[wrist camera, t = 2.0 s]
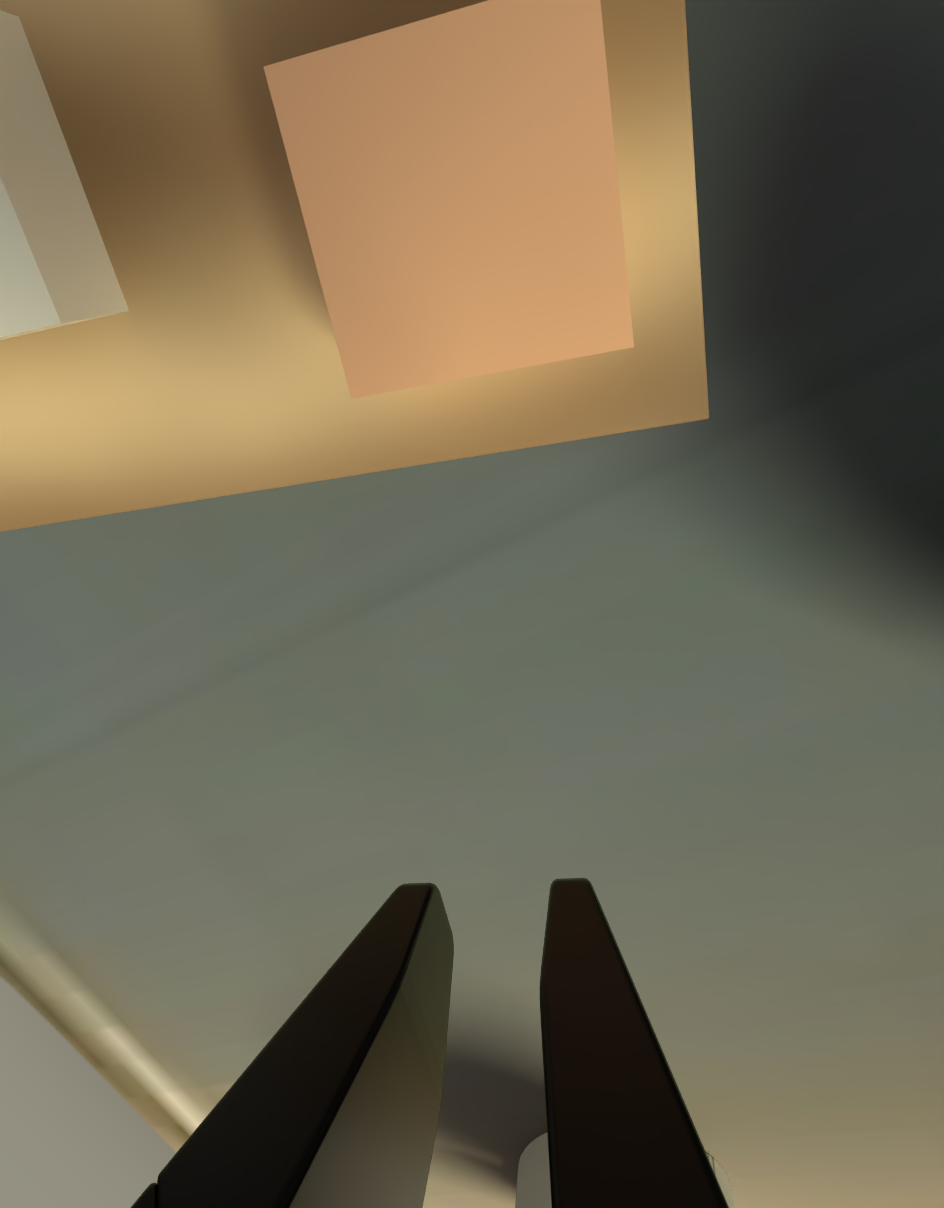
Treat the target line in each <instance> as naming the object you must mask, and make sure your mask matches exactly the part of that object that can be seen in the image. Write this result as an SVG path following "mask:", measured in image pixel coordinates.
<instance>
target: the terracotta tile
mask: <svg viewBox="0 0 944 1208" xmlns="http://www.w3.org/2000/svg"><path fill="white" fill-rule="evenodd" d="M264 71H265V75H266V78H267V82H268V86H269V90H270V94H271V97H272V101H273V105H274V109H275V112H276V116H277V120H278V124H279V128H280V131H281V135H282V139H283V143H284V146H285V150H286V154H287V158H288V162H289V165H290V169H291V173H292V177H293V180H294V184H295V188H296V192H297V196H298V199H299V203H300V207H301V211H302V214H303V218H304V222H305V226H306V230H307V233H308V237H309V241H310V245H311V248H312V252H313V256H314V260H315V264H316V267H317V271H318V275H319V279H320V282H321V286H322V290H323V294H324V298H325V301H326V305H327V309H328V313H329V316H330V320H331V324H332V328H333V332H334V335H335V339H336V343H337V347H338V350H339V354H340V358H341V362H342V366H343V369H344V373H345V377H346V381H347V384H348V388H349V392H350V396H351V399H354V398H360V397H365V396H371V395H376V394H382V393H387V392H393V391H398V390H403V389H409V388H414V387H420V386H425V385H431V384H436V383H442V382H447V381H453V380H458V379H464V378H469V377H474V376H480V375H485V374H491V373H496V372H502V371H507V370H513V369H518V368H524V367H529V366H535V365H540V364H545V363H551V362H556V361H562V360H567V359H573V358H578V357H584V356H589V355H595V354H600V353H606V352H611V351H616V350H622V349H627V348H633V347H634V339H633V329H632V319H631V309H630V298H629V288H628V278H627V268H626V257H625V247H624V237H623V227H622V217H621V206H620V196H619V186H618V176H617V165H616V155H615V145H614V135H613V124H612V114H611V104H610V94H609V84H608V73H607V63H606V53H605V43H604V32H603V22H602V12H601V2H600V0H488V1H484V2H481V3H477V4H474V5H471V6H467V7H464V8H460V9H457V10H454V11H450V12H447V13H444V14H440V15H437V16H433V17H430V18H427V19H423V20H420V21H416V22H413V23H410V24H406V25H403V26H399V27H396V28H393V29H389V30H386V31H383V32H379V33H376V34H372V35H369V36H366V37H362V38H359V39H355V40H352V41H349V42H345V43H342V44H338V45H335V46H332V47H328V48H325V49H322V50H318V51H315V52H311V53H308V54H305V55H301V56H298V57H294V58H291V59H288V60H284V61H281V62H277V63H274V64H271V65H267V66H264Z"/></svg>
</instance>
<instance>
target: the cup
mask: <svg viewBox="0 0 944 1208" xmlns="http://www.w3.org/2000/svg"><path fill="white" fill-rule="evenodd" d="M706 1154H707V1153H706ZM707 1157H708V1159H709V1161H710V1164H711V1166H712V1168H713V1171H714V1173H715V1175H716V1178H717V1180H718V1183H719V1185H720V1187H721V1190H722V1192H723V1194H724V1197H725V1199H726V1201H727V1204H728V1206H729V1208H734V1205H733V1198H732V1192H731V1185H730V1182H729V1179H728V1177H727V1174H726V1173H725V1172H724V1169H723V1168H722V1167H721V1166H720V1165H719V1164H718V1162H717V1161H716V1160H715V1159H714V1158H712V1157H711V1156H710V1155H709V1154H707ZM515 1208H551V1191H550V1173H549V1155H548V1137H547V1133H545V1134H543V1135H540V1136H539V1137H538V1138H536V1139H535V1140H534V1141H532V1142H531V1143H530V1144H529V1145H527V1147H526V1148H525V1150H524V1151H523V1154H521V1157H520V1161H519V1165H518V1178H517V1191H516V1205H515Z"/></svg>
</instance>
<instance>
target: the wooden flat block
mask: <svg viewBox="0 0 944 1208" xmlns="http://www.w3.org/2000/svg"><path fill="white" fill-rule="evenodd" d="M484 1H488V0H0V10H2V11H4V12H7V13H10V14H13V15H15V16H18V17H19V18H20V21H21V24H22V26H23V29H24V32H25V34H26V37H27V40H28V42H29V45H30V48H31V50H32V53H33V56H34V58H35V61H36V64H37V66H38V69H39V72H40V74H41V77H42V80H43V82H44V85H45V88H46V90H47V93H48V96H49V98H50V101H51V104H52V106H53V109H54V112H55V114H56V117H57V120H58V122H59V125H60V128H61V130H62V133H63V136H64V138H65V141H66V144H67V146H68V149H69V152H70V154H71V157H72V160H73V162H74V165H75V168H76V170H77V173H78V176H79V178H80V181H81V184H82V186H83V189H84V192H85V195H86V197H87V200H88V203H89V205H90V208H91V211H92V213H93V216H94V219H95V221H96V224H97V227H98V229H99V232H100V235H101V237H102V240H103V243H104V245H105V248H106V251H107V253H108V256H109V259H110V261H111V264H112V267H113V269H114V272H115V275H116V277H117V280H118V283H119V285H120V288H121V291H122V293H123V296H124V299H125V301H126V304H127V307H128V309H129V311H126V312H122V313H117V314H113V315H109V316H104V317H100V318H95V319H91V320H87V321H82V322H78V323H73V324H69V325H64V326H60V327H56V328H51V329H47V330H42V331H38V332H34V333H29V334H25V335H20V336H16V337H11V338H7V339H3V340H0V531H7V530H13V529H19V528H26V527H32V526H38V525H44V524H51V523H57V522H63V521H70V520H76V519H82V518H88V517H95V516H101V515H107V514H114V513H120V512H126V511H132V510H139V509H145V508H151V507H158V506H164V505H170V504H176V503H183V502H189V501H195V500H201V499H208V498H214V497H220V496H227V495H233V494H239V493H245V492H252V491H258V490H264V489H271V488H277V487H283V486H289V485H296V484H302V483H308V482H315V481H321V480H327V479H333V478H340V477H346V476H352V475H359V474H365V473H371V472H377V471H384V470H390V469H396V468H403V467H409V466H415V465H421V464H428V463H434V462H440V461H447V460H453V459H459V458H465V457H472V456H478V455H484V454H491V453H497V452H503V451H509V450H516V449H522V448H528V447H534V446H541V445H547V444H553V443H560V442H566V441H572V440H578V439H585V438H591V437H597V436H604V435H610V434H616V433H622V432H629V431H635V430H641V429H648V428H654V427H660V426H666V425H673V424H679V423H685V422H692V421H698V420H704V419H709V407H708V389H707V372H706V355H705V338H704V320H703V303H702V286H701V269H700V251H699V234H698V217H697V200H696V182H695V165H694V148H693V130H692V113H691V96H690V79H689V61H688V44H687V27H686V10H685V0H600V2H601V12H602V22H603V32H604V43H605V53H606V63H607V73H608V84H609V94H610V104H611V114H612V124H613V135H614V145H615V155H616V165H617V176H618V186H619V196H620V206H621V217H622V227H623V237H624V247H625V257H626V268H627V278H628V288H629V298H630V309H631V319H632V329H633V339H634V347H633V348H627V349H622V350H616V351H611V352H606V353H600V354H595V355H589V356H584V357H578V358H573V359H567V360H562V361H556V362H551V363H545V364H540V365H535V366H529V367H524V368H518V369H513V370H507V371H502V372H496V373H491V374H485V375H480V376H474V377H469V378H464V379H458V380H453V381H447V382H442V383H436V384H431V385H425V386H420V387H414V388H409V389H403V390H398V391H393V392H387V393H382V394H376V395H371V396H365V397H360V398H354V399H351V396H350V392H349V388H348V384H347V381H346V377H345V373H344V369H343V366H342V362H341V358H340V354H339V350H338V347H337V343H336V339H335V335H334V332H333V328H332V324H331V320H330V316H329V313H328V309H327V305H326V301H325V298H324V294H323V290H322V286H321V282H320V279H319V275H318V271H317V267H316V264H315V260H314V256H313V252H312V248H311V245H310V241H309V237H308V233H307V230H306V226H305V222H304V218H303V214H302V211H301V207H300V203H299V199H298V196H297V192H296V188H295V184H294V180H293V177H292V173H291V169H290V165H289V162H288V158H287V154H286V150H285V146H284V143H283V139H282V135H281V131H280V128H279V124H278V120H277V116H276V112H275V109H274V105H273V101H272V97H271V94H270V90H269V86H268V82H267V78H266V75H265V71H264V66H267V65H271V64H274V63H277V62H281V61H284V60H288V59H291V58H294V57H298V56H301V55H305V54H308V53H311V52H315V51H318V50H322V49H325V48H328V47H332V46H335V45H338V44H342V43H345V42H349V41H352V40H355V39H359V38H362V37H366V36H369V35H372V34H376V33H379V32H383V31H386V30H389V29H393V28H396V27H399V26H403V25H406V24H410V23H413V22H416V21H420V20H423V19H427V18H430V17H433V16H437V15H440V14H444V13H447V12H450V11H454V10H457V9H460V8H464V7H467V6H471V5H474V4H477V3H481V2H484Z"/></svg>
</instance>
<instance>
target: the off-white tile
mask: <svg viewBox="0 0 944 1208" xmlns="http://www.w3.org/2000/svg"><path fill="white" fill-rule="evenodd" d="M126 311H129V309H128V307H127V304H126V301H125V299H124V296H123V293H122V291H121V288H120V285H119V283H118V280H117V277H116V275H115V272H114V269H113V267H112V264H111V261H110V259H109V256H108V253H107V251H106V248H105V245H104V243H103V240H102V237H101V235H100V232H99V229H98V227H97V224H96V221H95V219H94V216H93V213H92V211H91V208H90V205H89V203H88V200H87V197H86V195H85V192H84V189H83V186H82V184H81V181H80V178H79V176H78V173H77V170H76V168H75V165H74V162H73V160H72V157H71V154H70V152H69V149H68V146H67V144H66V141H65V138H64V136H63V133H62V130H61V128H60V125H59V122H58V120H57V117H56V114H55V112H54V109H53V106H52V104H51V101H50V98H49V96H48V93H47V90H46V88H45V85H44V82H43V80H42V77H41V74H40V72H39V69H38V66H37V64H36V61H35V58H34V56H33V53H32V50H31V48H30V45H29V42H28V40H27V37H26V34H25V32H24V29H23V26H22V24H21V21H20V18H19V17H18V16H15V15H13V14H10V13H7V12H4V11H2V10H0V340H3V339H7V338H11V337H16V336H20V335H25V334H29V333H34V332H38V331H42V330H47V329H51V328H56V327H60V326H64V325H69V324H73V323H78V322H82V321H87V320H91V319H95V318H100V317H104V316H109V315H113V314H117V313H122V312H126Z"/></svg>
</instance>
